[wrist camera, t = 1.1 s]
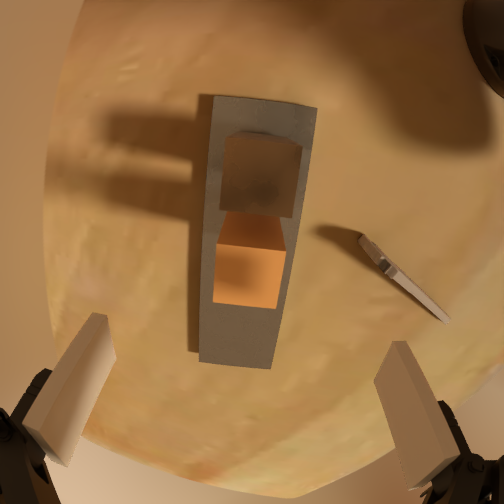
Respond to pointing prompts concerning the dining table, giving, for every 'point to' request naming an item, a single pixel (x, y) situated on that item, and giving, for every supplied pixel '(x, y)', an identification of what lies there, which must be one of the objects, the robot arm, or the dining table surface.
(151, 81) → the dining table surface
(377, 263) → the caliper
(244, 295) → the slide leg
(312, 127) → the bar
